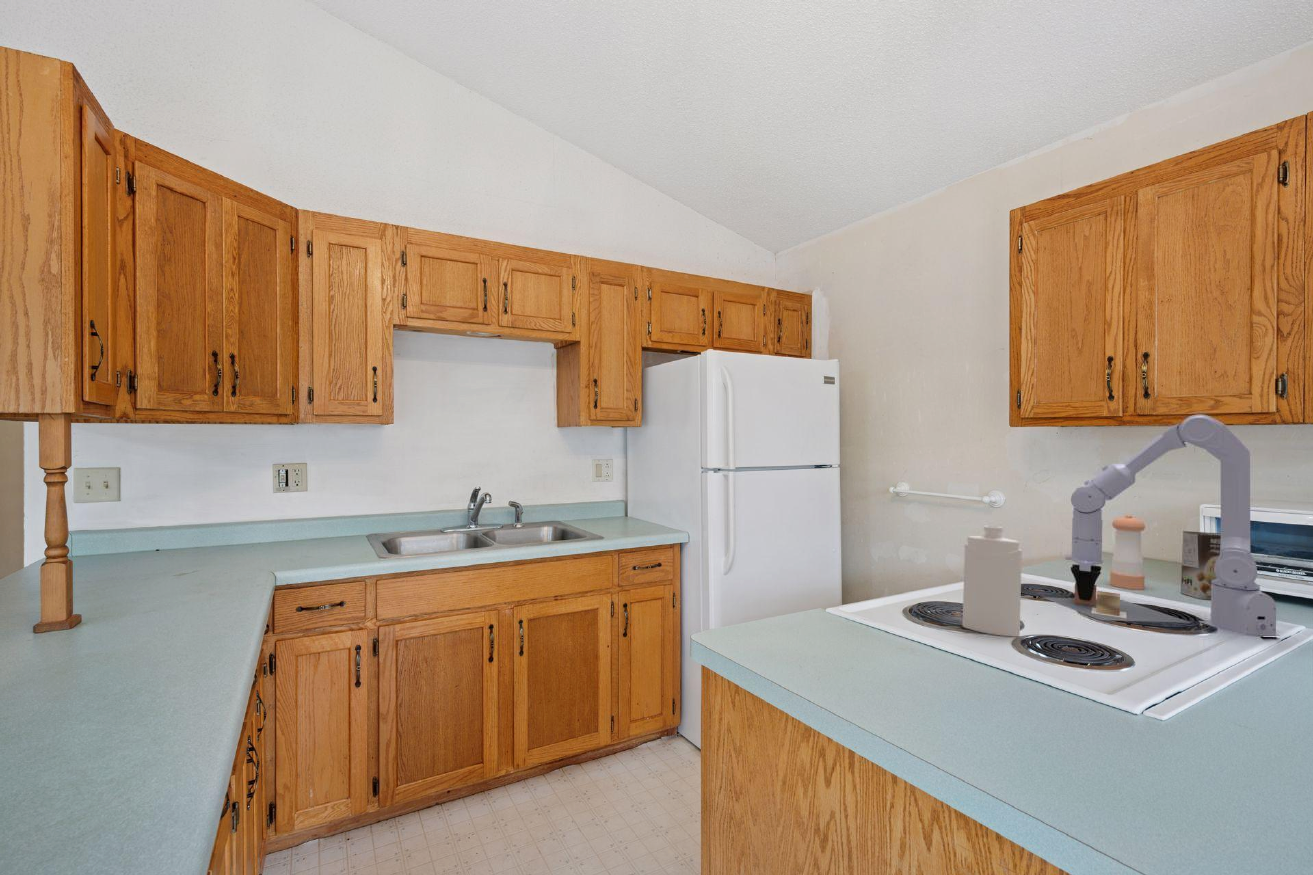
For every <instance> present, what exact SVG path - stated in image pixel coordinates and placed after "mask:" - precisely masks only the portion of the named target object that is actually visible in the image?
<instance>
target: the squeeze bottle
mask: <svg viewBox="0 0 1313 875" xmlns="http://www.w3.org/2000/svg"><path fill="white" fill-rule="evenodd" d="M983 532H984V534H983V535H969V536H967V541H966V542H967V543H965V544H964V557H963V558H964V560H963V561H964V563H963V567H964V568H963V593H962V594H963V600H962V625H961V626H962V627H963V628H965V629H968V630H971V631H974V632H977V633H978V632H979V633H983V634H988V635H993V636H994V635H995V636H1002V637H1010V638H1017V637H1019V636H1020V632H1021V631H1020V630H1021V627H1020V626H1021V598H1022V596H1021V595H1022V594H1021V593H1022V592H1021V590H1022V560H1023V558H1022V553H1023V550H1022V549H1021V548H1020V542H1019V541H1018V540H1015V539H1010V538H1006V537H1003V535H1002V534H1003V533H1004V527H1001V526H998V525H996V526H995V525H983Z"/></svg>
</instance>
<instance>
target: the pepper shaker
mask: <svg viewBox="0 0 1313 875" xmlns="http://www.w3.org/2000/svg"><path fill="white" fill-rule="evenodd" d="M1111 525H1112V527H1113V528H1114V529H1115V538H1114V539H1115V540H1114V542H1115V544H1114V549H1113V554H1112V556H1111V557H1112V558H1111V563H1112V567H1111V571H1110V573H1109V574H1110V577H1109V578H1110V580H1109V585H1110V586H1112V587H1117V588H1120V589H1127V590H1138V591H1139V590H1141V591H1142V590H1145V581H1146V580H1145V578H1146V577H1145V575H1144V574H1143V573H1144V558H1143V552H1142V551H1143V550H1142V531H1144V530H1145V528H1146V524H1145V523H1144V521H1143V520H1140V519H1139V518H1133V515H1131V514H1125V515H1124V517H1117V518H1115V519H1113V521H1112V524H1111Z"/></svg>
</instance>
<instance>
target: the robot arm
mask: <svg viewBox="0 0 1313 875" xmlns="http://www.w3.org/2000/svg"><path fill="white" fill-rule="evenodd" d="M1186 443H1187V444H1190V445H1193V446H1195V447H1198V448H1201V449H1203V450H1205V451H1206V452H1207V453H1209V454H1211V455H1212V456H1213V457H1214V458H1216V459H1218V460H1219V462H1220V533H1221V545H1220V555H1219V556H1218V557H1217V559H1216V563H1215V565H1214V572H1215V575H1216V576H1217V579H1215V580H1212V583H1211V600H1210V621H1206V620H1205V621H1203V620H1198V622H1199V623H1201V624H1205V625H1208V626H1211V627H1214V628H1218V629H1220V630H1223V631H1227V632H1230V633H1232V634H1235V635H1239V636H1254V637H1255V636H1256V637H1257V636H1258V637H1260V636H1280V635H1278V634H1277V604H1276V602H1275V599H1274V598H1273V597H1272V596H1270V595H1268V594H1267V593H1264V592H1263V591H1262V590H1260V589H1261V586H1260V585H1259V584H1257V583H1256V582H1255V581H1256V580H1257V578H1258V570H1257V569H1258V566H1257V563H1256V561H1255V559H1254V558H1253V557H1252V555H1251V452H1250V450H1249V449H1248V448H1247V446H1246V445H1245V444H1244V443H1243V442H1242V441H1241V440H1240V439H1239V438H1238V436H1236V434H1234V433H1233V432H1232V431H1231V429H1230V428H1229V427H1227V425H1226V424H1225V423H1223V422H1221V421H1219V420H1217V419H1216V418H1213V417H1212V416H1210V415H1207V414H1193V415H1191V416H1190V415H1189V416H1188V417H1186V418H1185V419H1184V420H1182V422H1181V423H1177V424H1175V425H1173V426H1171V427H1170V428H1168V429H1167V430H1165V431H1163V432H1161V433H1160V434H1159V435H1158V436H1156V437H1155V438H1154V439H1153V440H1151V441H1150V442H1149V443H1148V444H1146V445H1145V446H1144V447H1143V448H1142V449H1140V450H1139V451H1138V452H1136V453H1135V454H1134V455H1133V456H1131V457H1130V458H1129V459H1127V460H1126V461H1125V462H1124V463H1112V464H1110V465H1107V464H1106V465H1105V466H1103V467H1102V468H1101V470H1102V471H1101V472H1099V474H1097V475H1096V476H1095V477H1093V478H1091V480H1089V479H1087V480H1086V481H1084V482H1083V483H1084V485H1085V486H1080V487H1077V488H1076V489H1075V491H1074V492H1072V494H1071V496H1070V497H1071V498H1070V503H1071V505H1072V506H1073V511H1072V520H1071V522H1072V523H1071V524H1072V525H1071V527H1072V528H1071V555H1065V560H1070V561H1071V562H1074V563H1075V564H1072V565H1071V567H1070V572H1071V573H1072V576H1073V577H1074V581H1075V583H1076V585H1077V590H1078V596H1079V599H1080V600H1087V601H1090V600H1091V598H1092V594H1093V589H1094V585H1096V582H1097V580H1098V578H1099V577H1100V575H1101V573H1102V572H1101V570H1102V566H1100V565H1102V564H1103V562H1104V560H1103V559H1102V557H1103V556H1102V555H1103V520H1102V519H1103V518H1102V515H1103V514H1102V513H1103V512H1102V511H1103V510H1102V509H1103V508H1104V507H1105V505H1106V501H1112V500H1113V499H1114V498H1116V497H1117V496H1119V495H1120V494H1121V493H1123V492H1124V491H1125V490H1127V489H1128V488H1129V487H1131V486H1133V485H1134V484H1135V483H1136V475H1137V474H1138V473H1139V472H1140V471H1142V470H1144V469H1145V468H1146V467H1147V466H1149V465H1151V464H1152V463H1154V462H1155V461H1157V460H1158V459H1159V458H1161V457H1162V456H1163V455H1165V454H1166V453H1168V452H1170V451H1174V450H1178V449H1183V448H1187V447H1188V446H1187V445H1186Z"/></svg>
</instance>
